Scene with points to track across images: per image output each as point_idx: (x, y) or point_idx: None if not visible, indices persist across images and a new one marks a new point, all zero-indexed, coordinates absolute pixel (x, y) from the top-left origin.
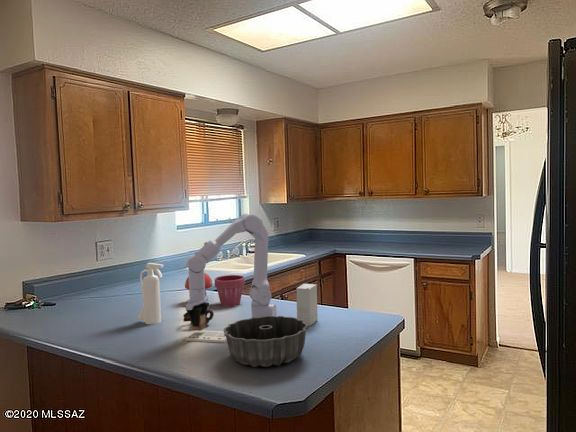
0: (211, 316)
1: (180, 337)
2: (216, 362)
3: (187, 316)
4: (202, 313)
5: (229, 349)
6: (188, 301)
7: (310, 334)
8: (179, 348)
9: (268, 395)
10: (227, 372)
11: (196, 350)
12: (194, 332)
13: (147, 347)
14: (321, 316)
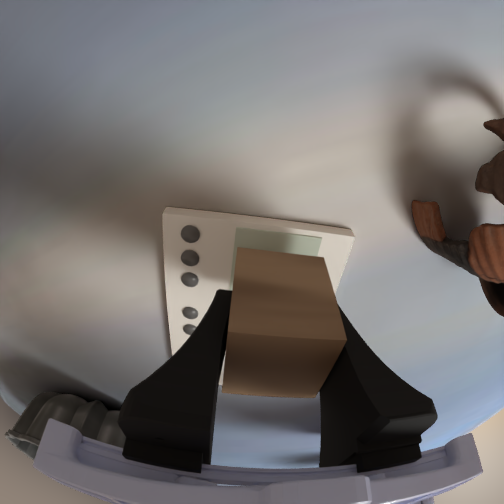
0: (489, 298)
1: (236, 142)
2: (32, 357)
3: (500, 171)
4: (328, 387)
5: (28, 407)
6: (262, 497)
7: (271, 465)
8: (55, 222)
9: (8, 400)
10: (15, 372)
11: (66, 299)
12: (303, 230)
13: (38, 36)
14: None
